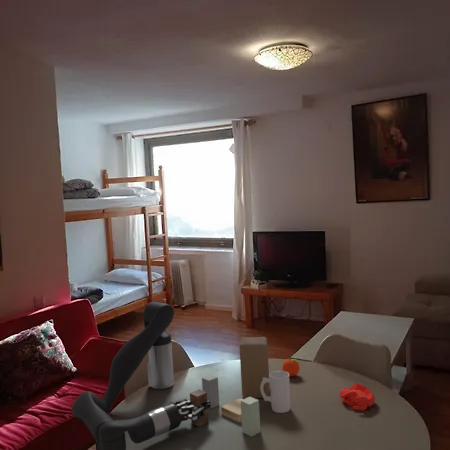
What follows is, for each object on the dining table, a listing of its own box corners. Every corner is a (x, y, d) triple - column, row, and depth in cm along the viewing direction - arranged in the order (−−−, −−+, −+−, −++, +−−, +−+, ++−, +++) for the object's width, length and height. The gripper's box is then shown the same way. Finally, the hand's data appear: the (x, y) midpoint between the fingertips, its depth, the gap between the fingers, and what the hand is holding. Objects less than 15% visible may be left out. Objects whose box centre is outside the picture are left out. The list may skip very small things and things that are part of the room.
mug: (290, 404, 158) (289, 370, 157) (291, 413, 151) (289, 378, 151) (262, 404, 159) (260, 370, 159) (260, 413, 153) (259, 378, 152)
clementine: (303, 373, 186) (302, 356, 186) (302, 379, 179) (301, 362, 179) (283, 372, 188) (282, 355, 187) (281, 379, 181) (280, 361, 181)
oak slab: (239, 424, 147) (239, 415, 147) (221, 415, 154) (221, 406, 153) (259, 414, 153) (258, 405, 153) (240, 406, 159) (240, 398, 159)
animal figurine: (369, 393, 165) (368, 379, 164) (378, 411, 150) (378, 396, 150) (336, 392, 166) (336, 379, 166) (342, 411, 151) (342, 396, 151)
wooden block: (269, 387, 173) (267, 336, 172) (269, 398, 163) (266, 344, 162) (243, 387, 174) (240, 336, 173) (242, 399, 164) (239, 344, 163)
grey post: (210, 408, 158) (208, 380, 158) (203, 405, 161) (201, 377, 161) (219, 405, 161) (217, 377, 160) (212, 401, 164) (210, 374, 163)
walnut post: (198, 427, 145) (197, 396, 145) (191, 422, 148) (189, 393, 148) (208, 422, 148) (206, 392, 148) (201, 418, 151) (199, 389, 151)
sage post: (251, 436, 138) (249, 404, 137) (242, 432, 141) (240, 400, 140) (260, 431, 140) (258, 400, 140) (251, 427, 143) (249, 396, 143)
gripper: (150, 424, 144) (193, 406, 155) (175, 440, 133) (220, 419, 145) (148, 401, 144) (192, 385, 155) (174, 415, 133) (219, 396, 144)
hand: (205, 402), depth 150 cm, fingers closed on walnut post, 4 cm apart
